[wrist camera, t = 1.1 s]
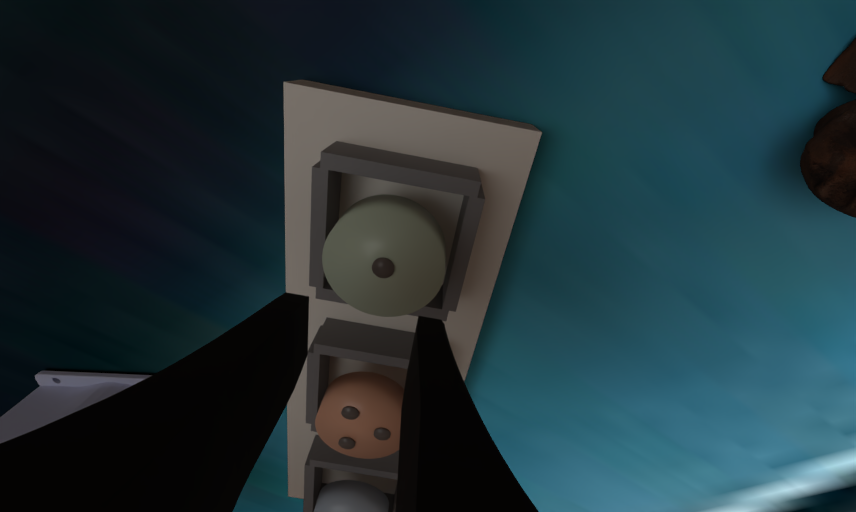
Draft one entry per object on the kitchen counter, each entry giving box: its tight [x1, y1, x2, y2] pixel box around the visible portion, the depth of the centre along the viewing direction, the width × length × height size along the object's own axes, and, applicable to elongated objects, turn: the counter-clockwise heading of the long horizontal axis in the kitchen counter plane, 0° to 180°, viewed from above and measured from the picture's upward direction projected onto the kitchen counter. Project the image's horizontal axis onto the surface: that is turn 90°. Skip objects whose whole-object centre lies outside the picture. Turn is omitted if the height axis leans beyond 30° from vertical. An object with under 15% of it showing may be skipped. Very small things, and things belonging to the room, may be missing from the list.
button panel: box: [284, 80, 542, 512], centre depth 21 cm, size 28×10×4 cm, turn 170°
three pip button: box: [315, 372, 404, 459], centre depth 18 cm, size 4×4×2 cm
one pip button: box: [322, 194, 446, 317], centre depth 14 cm, size 4×4×2 cm
